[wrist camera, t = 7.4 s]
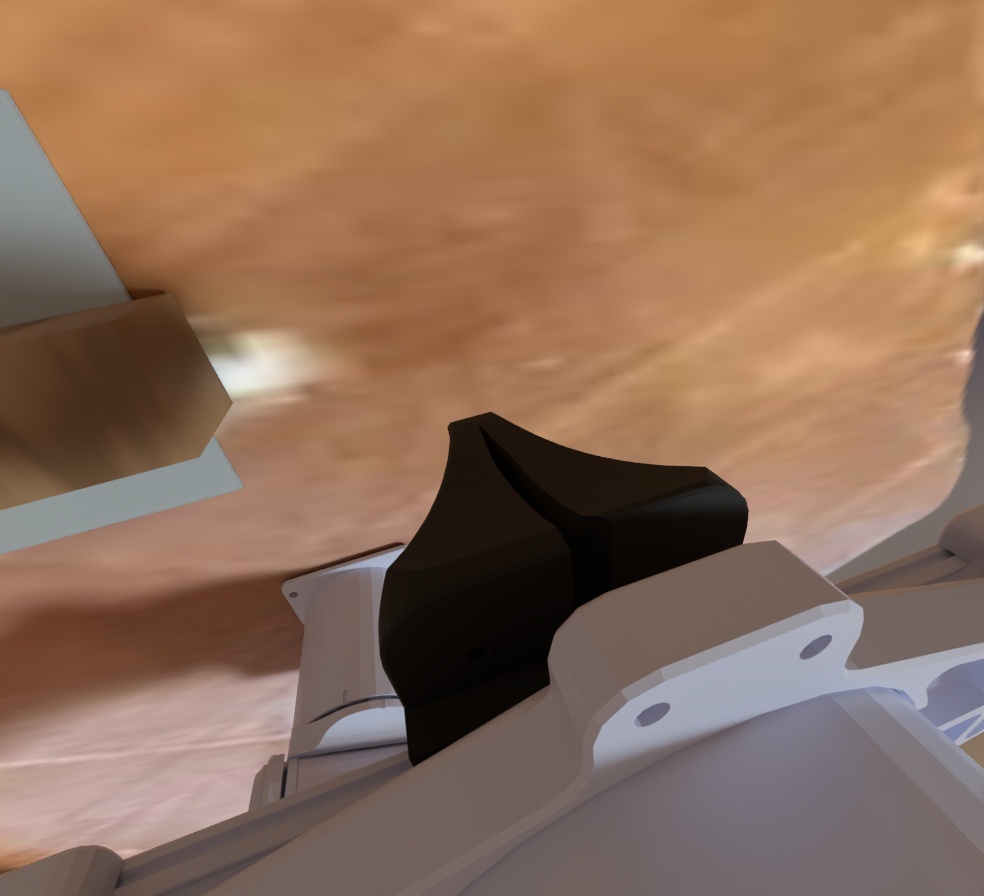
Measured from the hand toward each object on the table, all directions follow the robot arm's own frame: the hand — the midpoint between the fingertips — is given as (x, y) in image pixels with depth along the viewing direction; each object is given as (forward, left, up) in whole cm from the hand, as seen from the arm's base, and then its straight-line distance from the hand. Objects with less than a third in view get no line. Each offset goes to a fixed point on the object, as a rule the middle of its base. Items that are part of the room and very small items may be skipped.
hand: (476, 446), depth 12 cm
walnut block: (+2, +9, -8) cm, 12 cm away
